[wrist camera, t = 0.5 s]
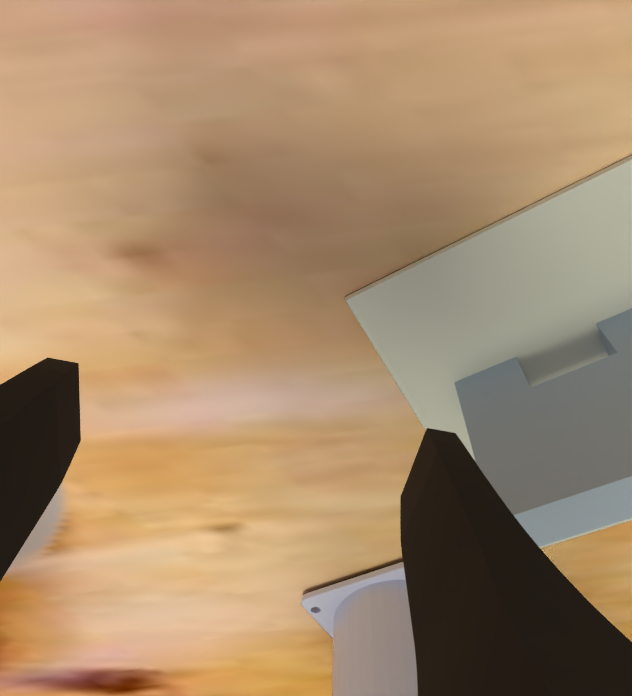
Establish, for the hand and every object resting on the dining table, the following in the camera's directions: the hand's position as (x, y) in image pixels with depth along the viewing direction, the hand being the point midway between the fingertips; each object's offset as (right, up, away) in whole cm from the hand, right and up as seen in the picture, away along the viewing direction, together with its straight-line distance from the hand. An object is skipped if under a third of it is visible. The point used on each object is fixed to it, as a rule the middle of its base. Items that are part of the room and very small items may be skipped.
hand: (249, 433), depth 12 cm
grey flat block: (+11, +1, +10) cm, 15 cm away
